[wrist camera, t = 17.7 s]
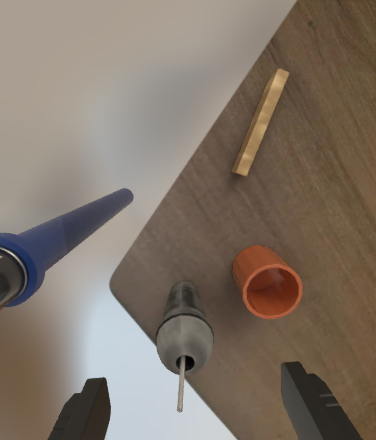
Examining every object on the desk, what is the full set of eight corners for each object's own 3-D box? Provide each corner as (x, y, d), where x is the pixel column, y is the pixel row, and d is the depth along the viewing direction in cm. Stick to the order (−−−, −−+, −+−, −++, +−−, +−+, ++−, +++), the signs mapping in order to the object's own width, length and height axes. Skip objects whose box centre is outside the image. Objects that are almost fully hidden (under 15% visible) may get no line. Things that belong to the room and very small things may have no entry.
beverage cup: (213, 284, 43) (239, 386, 24) (193, 319, 44) (202, 442, 25) (174, 266, 42) (167, 355, 23) (155, 302, 44) (132, 415, 24)
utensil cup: (232, 292, 43) (243, 321, 36) (231, 247, 42) (242, 266, 34) (280, 288, 43) (301, 316, 36) (280, 243, 42) (303, 262, 34)
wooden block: (235, 172, 36) (278, 67, 33) (231, 171, 39) (269, 76, 36) (246, 176, 36) (289, 72, 33) (240, 175, 39) (279, 81, 36)
